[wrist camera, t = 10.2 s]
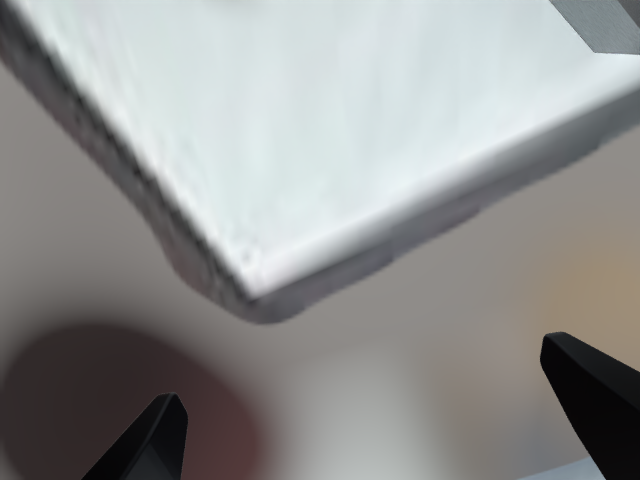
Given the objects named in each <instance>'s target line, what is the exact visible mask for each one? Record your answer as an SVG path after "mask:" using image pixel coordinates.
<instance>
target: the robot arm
mask: <svg viewBox="0 0 640 480" xmlns="http://www.w3.org/2000/svg"><path fill="white" fill-rule="evenodd" d="M540 363H541V366H542V369H543V371H544V373H545V375H546V377H547V379H548V380H549V382H550V384H551V386H552V388H553V390H554V392H555V394H556V396H557V398H558V400H559V402H560V404H561V406H562V408H563V410H564V412H565V414H566V416H567V418H568V420H569V421H570V423H571V425H572V427H573V429H574V431H575V432H576V434H577V435H578V437H579V439H580V440H581V442H582V443H583V445H584V447H585V448H586V450H587V451H588V453H589V454H590V456H591V457H592V459H593V461H594V462H595V464H596V465H597V467H598V468H599V470H600V471H601V473H602V475H603V476H604V478H605V479H606V480H640V372H639V371H637V370H635V369H633V368H631V367H629V366H627V365H626V364H624V363H622V362H620V361H618V360H616V359H614V358H613V357H611V356H609V355H607V354H605V353H603V352H601V351H599V350H598V349H596V348H594V347H592V346H590V345H588V344H586V343H584V342H583V341H581V340H579V339H577V338H575V337H573V336H571V335H570V334H567V333H565V332H555V333H549V334H546V335H545V336H544V338H543V342H542V349H541V354H540ZM187 427H188V414H187V411H186V409H185V408H184V406H183V404H182V402H181V400H180V398H179V396H178V395H177V394H176V393H175V392H170V393H165V394H160V395H158V396H157V397H155V399H154V400H153V401H152V402H151V403H150V404H149V405H148V406H147V407H146V409H144V410H143V412H142V413H141V414H140V415H139V416H138V417H137V418H136V419H135V420H134V422H133V423H132V424H131V425H130V426H129V427H128V428H127V429H126V430H125V431H124V433H123V434H122V435H121V436H120V437H119V438H118V439H117V440H116V441H115V442H114V444H113V445H112V446H111V447H110V448H109V449H108V450H107V451H106V452H105V453H104V455H103V456H102V457H101V458H100V459H99V460H98V461H97V462H96V463H95V464H94V465H93V467H92V468H91V469H90V470H89V471H88V472H87V473H86V474H85V475H84V477H82V479H81V480H181V473H182V466H183V458H184V450H185V443H186V435H187Z"/></svg>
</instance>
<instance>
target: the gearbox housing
mask: <svg viewBox="0 0 640 480" xmlns="http://www.w3.org/2000/svg"><path fill="white" fill-rule="evenodd" d="M550 1H551V2H552V4H553V5H554V6H555V7H556V8H557V9H558V11H559V12H560V13H561V14H562V15H563V16H564V18H565V19H566V20H567V21H568V22H569V23H570V24H571V26H572V27H573V28H574V29H575V30H576V31H577V33H578V34H579V35H580V36H581V37H582V38H583V40H584V41H585V42H586V43H587V44H588V45H589V47H590V48H591V49H592V50H593V51H594V52H595V53H612V54H635V55H640V0H550Z"/></svg>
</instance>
